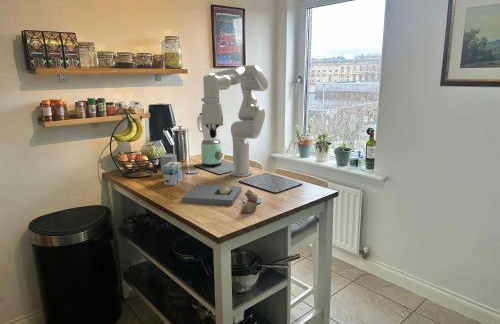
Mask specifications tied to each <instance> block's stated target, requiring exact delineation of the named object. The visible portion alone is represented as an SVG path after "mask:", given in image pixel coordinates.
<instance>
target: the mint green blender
mask: <svg viewBox="0 0 500 324" xmlns="http://www.w3.org/2000/svg"><path fill="white" fill-rule="evenodd" d="M196 121H197V122H196V123H197V130H198V131H199V133H202V135H203V136H202V137H203V140H202V141H201V143H200V145H201V146H200V152H201V153H200V155H201V165H202V166H203V165H205V166H207V167H211V166H214V167H215V166H219V164H221V165H222V158H223V156H224V154H223V152H222V144H221V140H220V139H218V138H219V132H220V131H219V129H220V126H219V127H218V128H217V129H216V137H215V138H213V137H212V138H211V136H210V130H209V129H208V128H207V127H206V126H203V125H202V112H200V113H199V115H198V116H197V119H196ZM213 126H214V124H212V128H213Z"/></svg>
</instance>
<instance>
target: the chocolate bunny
mask: <svg viewBox="0 0 500 324" xmlns="http://www.w3.org/2000/svg"><path fill="white" fill-rule="evenodd" d="M244 196H245V197H246V198H247V199H246V201H245V202H243V204H242V206H241V209H240V213H241V214H251V213H254V212H256V211H257V205H258V204H259V203H258V195H257V194H255V193H254V192H253V191H252V190H251V189H249V188H248V189H247V190H246V191H245V193H244Z"/></svg>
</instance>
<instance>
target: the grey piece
mask: <svg viewBox="0 0 500 324" xmlns="http://www.w3.org/2000/svg"><path fill="white" fill-rule="evenodd" d="M159 157H160V158H159V159H160V170H161V171H160V172H161V177H162V178H164V174H163V166H164V165H166V164H167V163H169V162H178V160H177V159H178V158H177V157H178V156H177V153H163V154H160V155H159Z"/></svg>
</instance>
